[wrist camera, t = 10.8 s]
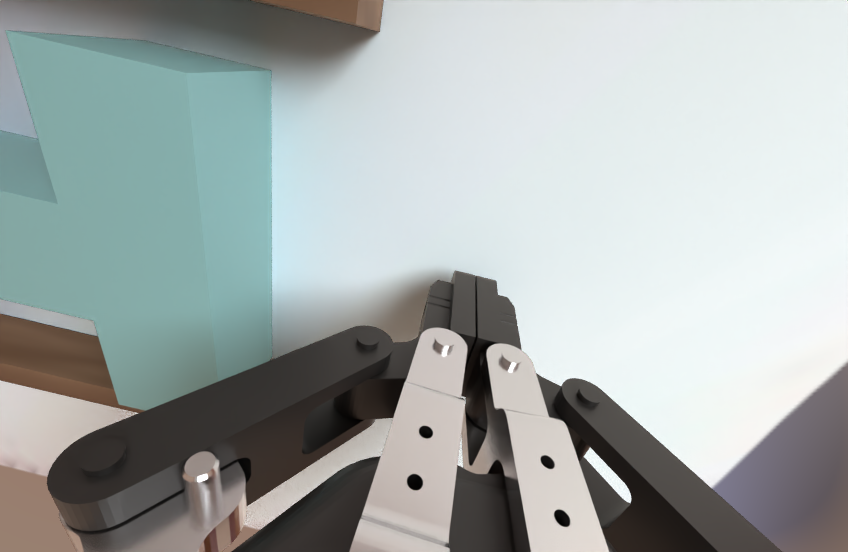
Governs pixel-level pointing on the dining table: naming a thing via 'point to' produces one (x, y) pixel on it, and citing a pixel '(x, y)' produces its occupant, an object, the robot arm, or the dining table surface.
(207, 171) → the T-block
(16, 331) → the bay
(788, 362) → the dining table surface
